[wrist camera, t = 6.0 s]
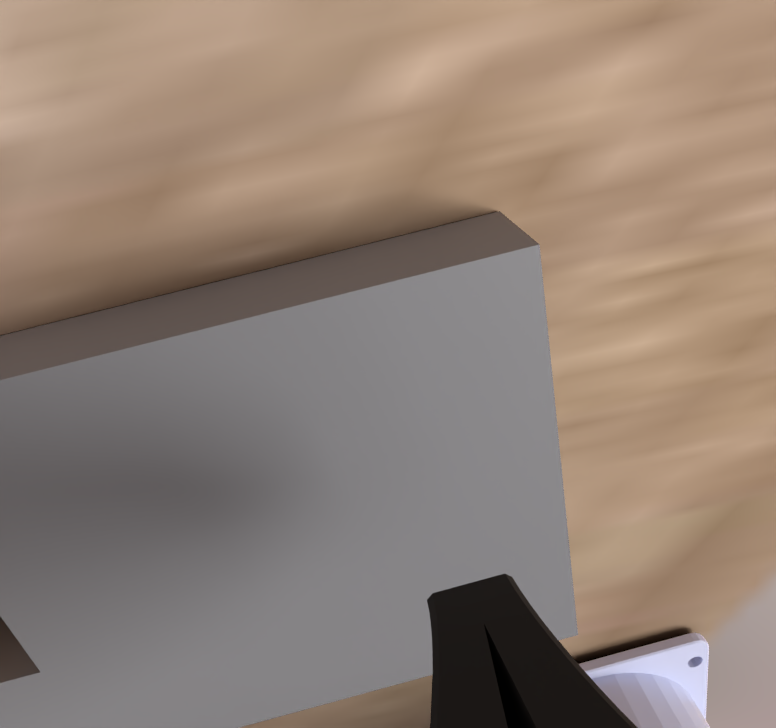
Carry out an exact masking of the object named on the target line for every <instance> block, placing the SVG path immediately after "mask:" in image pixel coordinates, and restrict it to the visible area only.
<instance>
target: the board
mask: <svg viewBox="0 0 776 728" xmlns="http://www.w3.org/2000/svg"><path fill="white" fill-rule="evenodd" d="M501 574H507V575H509V576H511V577H513V579H514V581H515V582H516V584H517V585H518V587H519V589H520V590H521V592H522V593H523V595H524V596H525V597H526V599H527V600H528V602H529V603H530V605H531V606H532V607H533V609H534V610H535V611H536V613H537V614H538V615H539V617H540V618H541V619H542V621H543V622H544V623H545V625H546V626H547V627H548V628H549V630H550V631H551V632H552V633H553V635H554V636H555V637H556V638H557V640H561V639H565V638H568V637H572V636H576V635H578V631H577V621H576V611H575V600H574V590H573V580H572V570H571V560H570V550H569V540H568V530H567V519H566V509H565V499H564V489H563V479H562V469H561V459H560V449H559V439H558V428H557V418H556V408H555V398H554V388H553V378H552V368H551V358H550V347H549V337H548V327H547V317H546V307H545V297H544V287H543V277H542V267H541V256H540V246H539V244H538V243H537V242H536V241H534V240H533V239H532V238H531V237H530V236H529V235H527V234H526V233H525V232H524V231H523V230H521V229H520V228H519V227H518V226H517V225H515V224H514V223H513V222H512V221H511V220H509V219H508V218H507V217H506V216H505V215H503V214H502V213H501V212H500V211H499V212H495V213H491V214H487V215H483V216H479V217H475V218H471V219H467V220H463V221H459V222H455V223H451V224H447V225H443V226H439V227H435V228H430V229H426V230H422V231H418V232H414V233H410V234H406V235H402V236H398V237H394V238H390V239H386V240H382V241H378V242H374V243H370V244H366V245H362V246H358V247H354V248H350V249H346V250H342V251H338V252H334V253H330V254H326V255H322V256H318V257H314V258H310V259H306V260H302V261H298V262H294V263H290V264H286V265H282V266H278V267H274V268H270V269H266V270H262V271H258V272H254V273H250V274H246V275H242V276H238V277H234V278H230V279H226V280H222V281H218V282H214V283H210V284H206V285H202V286H198V287H194V288H190V289H186V290H182V291H178V292H174V293H170V294H166V295H162V296H158V297H154V298H150V299H146V300H142V301H138V302H134V303H130V304H126V305H122V306H118V307H114V308H110V309H106V310H102V311H98V312H94V313H90V314H86V315H82V316H78V317H74V318H70V319H66V320H62V321H58V322H54V323H50V324H46V325H42V326H38V327H34V328H30V329H26V330H22V331H18V332H14V333H10V334H6V335H2V336H0V728H240V727H243V726H247V725H251V724H254V723H258V722H262V721H265V720H269V719H273V718H276V717H280V716H283V715H287V714H291V713H294V712H298V711H302V710H305V709H309V708H313V707H316V706H320V705H324V704H327V703H331V702H335V701H338V700H342V699H346V698H349V697H353V696H357V695H360V694H364V693H367V692H371V691H375V690H378V689H382V688H386V687H389V686H393V685H397V684H400V683H404V682H408V681H411V680H415V679H419V678H422V677H426V676H430V675H433V657H432V632H431V622H430V613H429V608H428V603H427V599H428V598H429V597H430V596H431V594H432V593H435V592H439V591H442V590H446V589H450V588H454V587H457V586H461V585H465V584H468V583H472V582H476V581H479V580H483V579H487V578H490V577H494V576H498V575H501Z"/></svg>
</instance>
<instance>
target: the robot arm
mask: <svg viewBox="0 0 776 728" xmlns="http://www.w3.org/2000/svg"><path fill="white" fill-rule="evenodd" d="M427 603H428V608H429V613H430V622H431V632H432V657H433V679H432V702H431V723H430V728H710V727H709V725H708V723H707V722H706V701H707V680H708V658H709V645H708V643H707V641H706V640H705V638H704V637H703V636H702V635H701V634H699V633H689V634H685V635H681V636H678V637H674V638H670V639H667V640H663V641H660V642H656V643H652V644H649V645H645V646H641V647H638V648H634V649H630V650H627V651H623V652H620V653H616V654H612V655H609V656H605V657H601V658H598V659H594V660H591V661H587V662H583V663H580V664H578V663H577V662H576V661H575V660H574V659H573V658H572V656H571V655H570V654H569V653H568V652H567V650H566V649H565V648H564V647H563V646H562V644H561V643H560V642H559V641H558V640H557V638H556V637H555V636H554V635H553V633H552V632H551V631H550V630H549V628H548V627H547V626H546V625H545V623H544V622H543V621H542V619H541V618H540V617H539V615H538V614H537V613H536V611H535V610H534V609H533V607H532V606H531V605H530V603H529V602H528V600H527V599H526V597H525V596H524V595H523V593H522V592H521V590H520V589H519V587H518V585H517V584H516V582H515V581H514V579H513V577H511V576H509V575H507V574H501V575H498V576H494V577H490V578H487V579H483V580H479V581H476V582H472V583H468V584H465V585H461V586H457V587H454V588H450V589H446V590H442V591H439V592H435V593H432V594H431V596H430V597H429V598H428V599H427Z"/></svg>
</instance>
